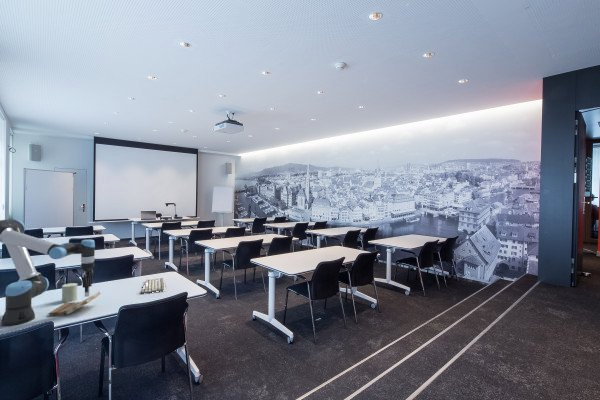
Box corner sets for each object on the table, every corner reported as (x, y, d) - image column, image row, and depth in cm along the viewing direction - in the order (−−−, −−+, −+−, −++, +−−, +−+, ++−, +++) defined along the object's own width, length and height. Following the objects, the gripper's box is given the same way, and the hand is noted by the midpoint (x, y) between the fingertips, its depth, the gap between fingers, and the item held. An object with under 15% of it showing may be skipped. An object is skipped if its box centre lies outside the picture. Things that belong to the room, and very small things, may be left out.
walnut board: (48, 316, 188) (49, 312, 188) (65, 305, 206) (65, 302, 206) (64, 315, 190) (64, 311, 190) (79, 305, 208) (79, 301, 208)
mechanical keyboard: (141, 282, 266) (142, 278, 266) (164, 280, 275) (164, 277, 275) (140, 295, 233) (140, 291, 233) (166, 292, 241) (166, 288, 241)
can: (59, 302, 211) (59, 286, 211) (65, 298, 220) (65, 282, 220) (73, 301, 214) (74, 285, 214) (79, 297, 223) (79, 282, 223)
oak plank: (66, 314, 190) (65, 312, 190) (81, 304, 208) (80, 302, 208) (87, 303, 193) (86, 300, 192) (100, 294, 210) (99, 291, 210)
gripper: (89, 264, 195) (88, 299, 195) (98, 260, 207) (98, 292, 208) (76, 264, 193) (75, 299, 193) (86, 260, 206) (86, 293, 206)
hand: (87, 296), depth 201 cm, fingers closed
